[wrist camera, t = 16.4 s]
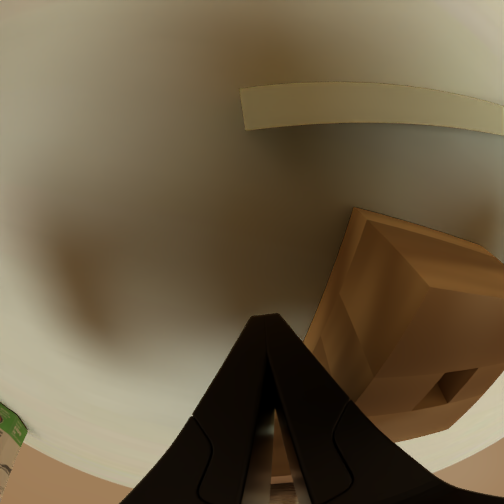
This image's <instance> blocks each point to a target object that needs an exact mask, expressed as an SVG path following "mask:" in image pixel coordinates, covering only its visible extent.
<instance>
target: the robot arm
mask: <svg viewBox="0 0 504 504" xmlns="http://www.w3.org/2000/svg"><path fill="white" fill-rule="evenodd" d="M275 410H276V414H277V418H278V423H279V427H280V431H281V435H282V439H283V443H284V447H285V451H286V455H287V459H288V463H289V467H290V471H291V475H292V479H293V483H294V487H295V491H296V495H297V499H298V502H299V504H504V497H498V496H493V495H488V494H483V493H478V492H474V491H469V490H465V489H461V488H458V487H455V486H453V485H450V484H448V483H446V482H444V481H443V480H441V479H439V478H438V477H436V476H435V475H434V474H432V473H431V472H430V471H428V470H427V469H426V468H424V467H423V466H422V465H421V464H419V463H418V462H417V461H416V460H414V459H413V458H412V457H411V456H409V455H408V454H407V453H406V452H405V451H403V450H402V449H401V448H400V447H399V446H397V445H396V444H395V443H394V442H393V441H391V440H390V439H389V438H388V437H387V436H386V435H385V434H384V433H383V432H381V431H380V430H379V429H378V428H377V427H376V426H375V425H374V424H373V423H372V422H371V421H370V420H369V419H368V417H367V416H366V415H365V414H364V413H363V412H362V411H361V410H360V409H359V408H358V406H357V405H356V404H355V403H354V402H353V401H352V400H350V397H349V396H348V395H347V394H346V393H345V392H344V390H343V389H342V388H341V387H340V386H339V384H338V383H337V382H336V381H335V380H334V379H333V377H332V376H331V375H330V374H329V373H328V372H327V370H326V369H325V368H324V367H323V366H322V364H321V363H320V362H319V361H318V360H317V359H316V357H315V356H314V355H313V354H312V353H311V351H310V350H309V349H308V348H307V347H306V345H305V344H304V343H303V342H302V341H301V339H300V338H299V337H298V336H297V335H296V333H295V332H294V331H293V330H292V329H291V327H290V326H289V325H288V324H287V323H286V321H285V320H284V319H283V318H282V317H281V315H280V314H278V313H273V314H265V315H257V316H252V317H250V319H249V320H248V322H247V324H246V326H245V327H244V329H243V331H242V332H241V334H240V336H239V338H238V339H237V341H236V343H235V344H234V346H233V348H232V349H231V351H230V353H229V354H228V356H227V358H226V360H225V361H224V363H223V365H222V366H221V368H220V369H219V371H218V373H217V374H216V376H215V378H214V379H213V381H212V383H211V384H210V386H209V388H208V389H207V391H206V392H205V394H204V396H203V397H202V399H201V401H200V402H199V404H198V405H197V407H196V409H195V410H194V412H193V413H192V415H193V416H191V417H190V418H189V419H188V421H187V423H186V424H185V426H184V427H183V429H182V430H181V432H180V433H179V435H178V436H177V438H176V439H175V440H174V442H173V443H172V445H171V446H170V447H169V449H168V450H167V451H166V452H165V454H164V455H163V456H162V457H161V458H160V460H159V461H158V462H157V463H156V464H155V466H154V467H153V468H152V469H151V470H150V471H149V472H148V473H147V475H146V476H145V477H144V478H143V479H142V480H141V481H140V482H139V483H138V484H137V485H136V487H135V488H134V489H133V490H132V491H131V492H130V493H129V494H128V495H127V496H126V497H125V498H124V499H123V500H122V501H121V502H120V503H119V504H269V499H270V486H271V472H272V456H273V439H274V420H275Z"/></svg>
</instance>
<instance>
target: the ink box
mask: <svg viewBox="0 0 504 504" xmlns="http://www.w3.org/2000/svg"><path fill="white" fill-rule="evenodd" d="M27 432H28V431H27V430H26V428H25V427H24V425H23V424H22V422H21V421H20V419H19V418H18V416H17V415H16V414H15V413H13V412H12V411H10V410H9V409H8V408H6V407H5V406H4V405H2V404H1V403H0V501H1V498H2V495H3V492H4V489H5V486H6V483H7V481H8V478H9V475H10V472H11V470H12V467H13V464H14V462H15V459H16V457H17V455H18V452H19V450H20V447H21V445H22V443H23V441H24V438H25V436H26V434H27Z"/></svg>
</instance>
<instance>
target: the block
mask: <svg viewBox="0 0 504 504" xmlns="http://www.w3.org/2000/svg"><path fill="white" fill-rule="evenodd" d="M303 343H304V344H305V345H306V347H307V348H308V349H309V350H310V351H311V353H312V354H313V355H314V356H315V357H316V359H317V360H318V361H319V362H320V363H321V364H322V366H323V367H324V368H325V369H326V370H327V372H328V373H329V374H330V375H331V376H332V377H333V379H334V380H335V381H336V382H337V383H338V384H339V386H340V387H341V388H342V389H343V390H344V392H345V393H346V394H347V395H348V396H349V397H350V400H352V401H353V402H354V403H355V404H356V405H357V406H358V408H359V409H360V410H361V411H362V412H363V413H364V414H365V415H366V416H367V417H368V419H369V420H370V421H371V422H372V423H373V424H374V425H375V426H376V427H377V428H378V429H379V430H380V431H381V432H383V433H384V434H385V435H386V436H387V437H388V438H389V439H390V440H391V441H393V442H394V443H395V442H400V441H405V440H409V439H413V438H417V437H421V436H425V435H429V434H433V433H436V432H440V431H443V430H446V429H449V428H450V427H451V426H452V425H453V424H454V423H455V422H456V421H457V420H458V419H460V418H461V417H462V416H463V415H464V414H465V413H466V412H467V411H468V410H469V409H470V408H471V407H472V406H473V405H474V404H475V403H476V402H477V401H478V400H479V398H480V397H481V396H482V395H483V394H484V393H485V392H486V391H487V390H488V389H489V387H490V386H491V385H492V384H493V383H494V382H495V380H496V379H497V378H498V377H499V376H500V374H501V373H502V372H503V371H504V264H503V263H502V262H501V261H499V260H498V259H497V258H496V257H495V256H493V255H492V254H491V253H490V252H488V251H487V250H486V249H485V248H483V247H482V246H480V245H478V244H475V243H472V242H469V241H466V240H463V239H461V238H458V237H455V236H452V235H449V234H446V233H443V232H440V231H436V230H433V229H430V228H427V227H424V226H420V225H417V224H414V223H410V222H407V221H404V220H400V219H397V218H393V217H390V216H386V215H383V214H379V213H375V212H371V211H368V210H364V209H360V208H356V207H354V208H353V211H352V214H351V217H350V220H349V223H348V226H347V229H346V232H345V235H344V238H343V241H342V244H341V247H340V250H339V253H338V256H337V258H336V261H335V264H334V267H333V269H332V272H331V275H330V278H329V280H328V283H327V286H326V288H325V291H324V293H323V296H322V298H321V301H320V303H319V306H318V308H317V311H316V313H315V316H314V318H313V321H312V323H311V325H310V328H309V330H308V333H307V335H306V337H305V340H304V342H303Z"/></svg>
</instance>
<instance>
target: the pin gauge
mask: <svg viewBox="0 0 504 504" xmlns="http://www.w3.org/2000/svg"><path fill="white" fill-rule="evenodd" d="M269 504H299V502H298V499H297V495H296V491H295V487H294V483H293V482H289V483H278V484H271V486H270V499H269Z"/></svg>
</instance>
